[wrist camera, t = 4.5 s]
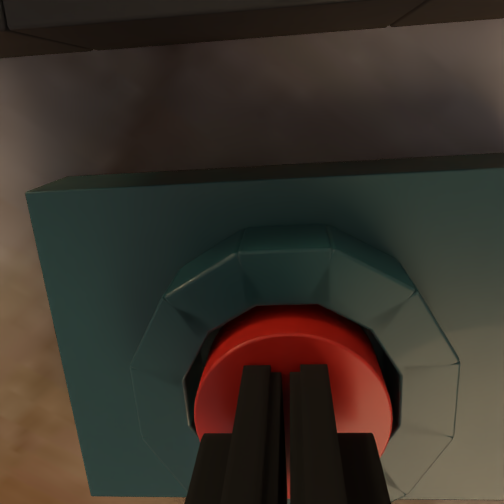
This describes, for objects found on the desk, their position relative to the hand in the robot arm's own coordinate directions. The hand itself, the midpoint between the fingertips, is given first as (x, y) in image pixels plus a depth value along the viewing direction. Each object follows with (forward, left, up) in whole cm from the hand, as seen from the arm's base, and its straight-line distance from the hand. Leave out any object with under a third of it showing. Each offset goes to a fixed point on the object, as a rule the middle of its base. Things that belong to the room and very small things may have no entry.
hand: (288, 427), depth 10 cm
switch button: (0, 0, -2) cm, 2 cm away
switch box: (0, 0, -5) cm, 5 cm away
